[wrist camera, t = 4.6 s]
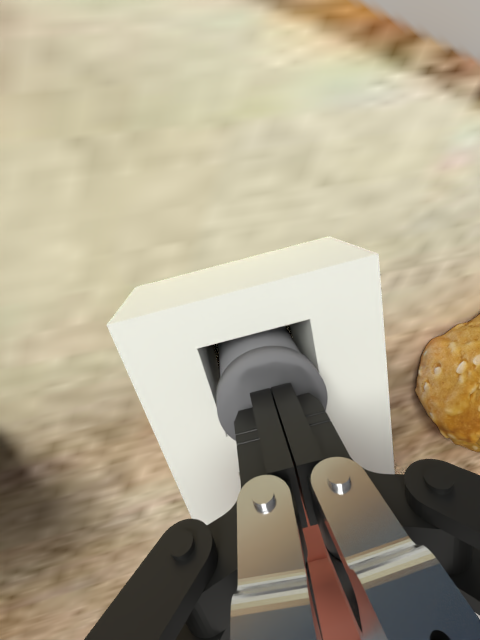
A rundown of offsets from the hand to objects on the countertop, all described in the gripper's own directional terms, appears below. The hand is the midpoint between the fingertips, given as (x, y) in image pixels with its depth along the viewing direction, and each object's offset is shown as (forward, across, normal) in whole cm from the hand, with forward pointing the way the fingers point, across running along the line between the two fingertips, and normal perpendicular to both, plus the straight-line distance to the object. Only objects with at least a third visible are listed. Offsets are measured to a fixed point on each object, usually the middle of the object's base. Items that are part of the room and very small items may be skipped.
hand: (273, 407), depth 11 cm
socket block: (+7, 0, +6) cm, 9 cm away
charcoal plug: (+6, 0, 0) cm, 6 cm away
